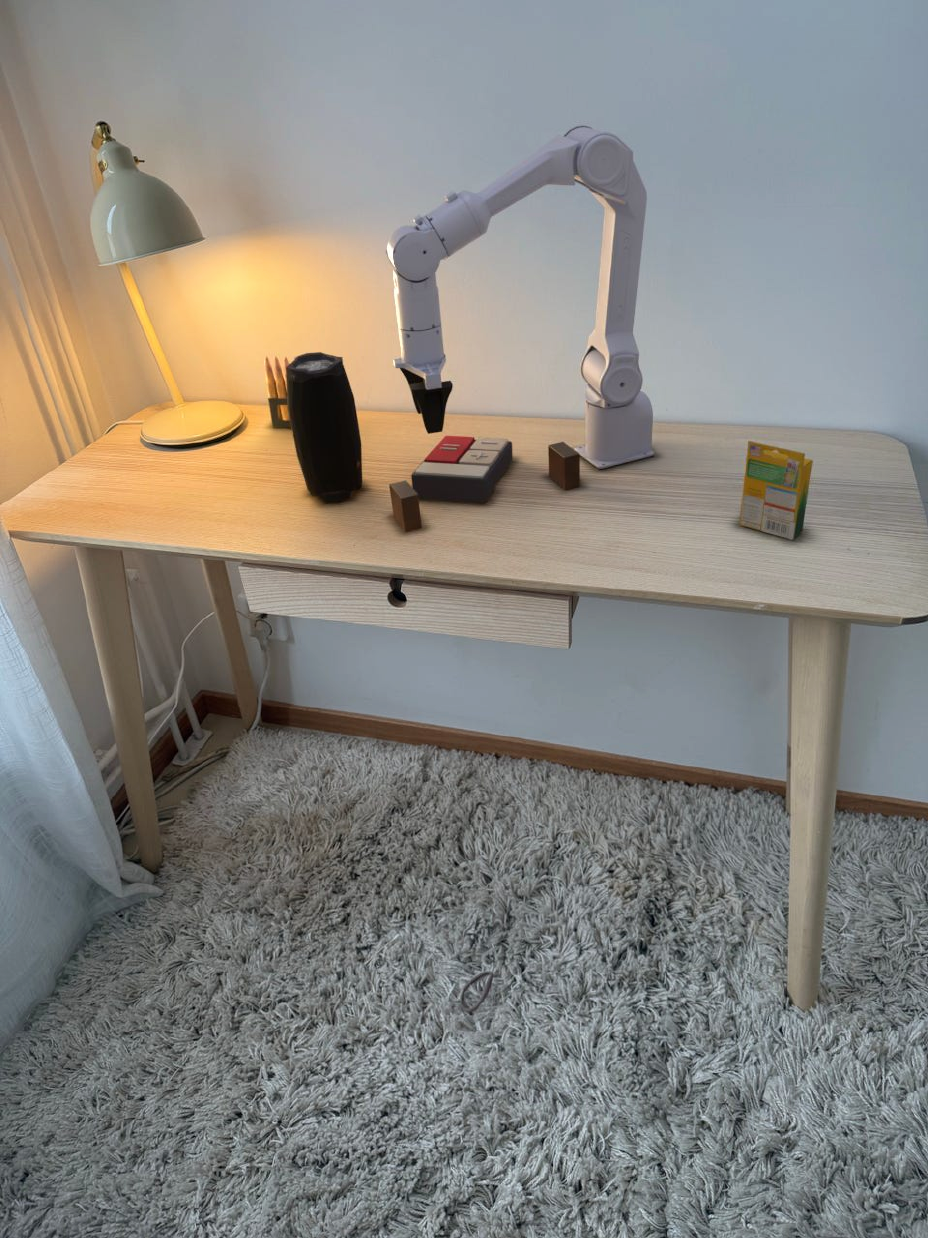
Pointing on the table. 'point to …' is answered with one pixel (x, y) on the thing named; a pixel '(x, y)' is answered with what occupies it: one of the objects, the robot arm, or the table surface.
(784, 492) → the crayon box
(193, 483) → the table surface
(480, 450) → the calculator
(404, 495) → the corner blocks
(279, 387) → the ammunition clip
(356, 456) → the portable speaker
